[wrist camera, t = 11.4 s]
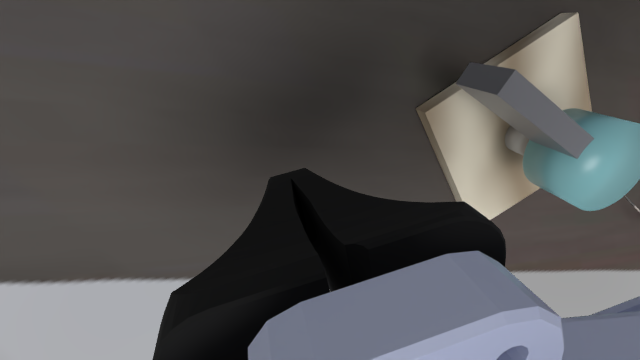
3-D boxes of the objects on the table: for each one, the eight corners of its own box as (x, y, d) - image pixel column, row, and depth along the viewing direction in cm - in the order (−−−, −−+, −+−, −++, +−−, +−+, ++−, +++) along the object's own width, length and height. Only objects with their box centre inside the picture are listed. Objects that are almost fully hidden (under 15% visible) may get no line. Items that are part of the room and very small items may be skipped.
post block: (561, 13, 22) (629, 11, 18) (582, 146, 27) (639, 166, 23) (415, 108, 22) (453, 126, 18) (464, 221, 27) (502, 253, 23)
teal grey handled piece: (608, 132, 21) (667, 149, 18) (553, 197, 22) (600, 222, 19) (493, 25, 16) (548, 26, 13) (432, 116, 18) (470, 134, 15)
